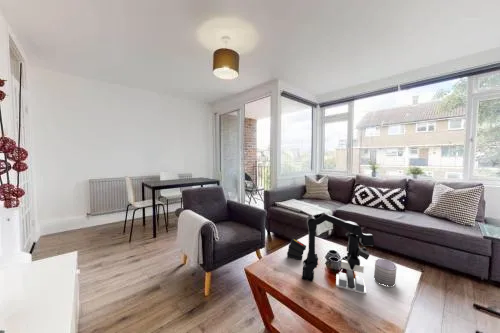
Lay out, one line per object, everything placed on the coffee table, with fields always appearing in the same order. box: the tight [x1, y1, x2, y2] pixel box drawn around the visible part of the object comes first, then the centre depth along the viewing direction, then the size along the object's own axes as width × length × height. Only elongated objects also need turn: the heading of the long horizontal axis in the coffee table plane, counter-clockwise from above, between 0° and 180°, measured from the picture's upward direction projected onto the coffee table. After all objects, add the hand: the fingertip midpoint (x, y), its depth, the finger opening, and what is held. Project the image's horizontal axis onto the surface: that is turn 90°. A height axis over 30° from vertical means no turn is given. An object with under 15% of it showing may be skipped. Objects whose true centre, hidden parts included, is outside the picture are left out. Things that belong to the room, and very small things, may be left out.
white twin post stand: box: [335, 271, 368, 295], centre depth 124 cm, size 16×12×5 cm
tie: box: [340, 259, 365, 274], centre depth 124 cm, size 12×2×4 cm, turn 67°
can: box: [373, 258, 398, 286], centre depth 128 cm, size 11×11×12 cm
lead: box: [346, 269, 355, 289], centre depth 126 cm, size 17×4×4 cm, turn 157°
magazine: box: [286, 237, 307, 261], centre depth 152 cm, size 4×13×15 cm, turn 73°
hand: (351, 268), depth 124 cm, fingers closed on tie, 2 cm apart
